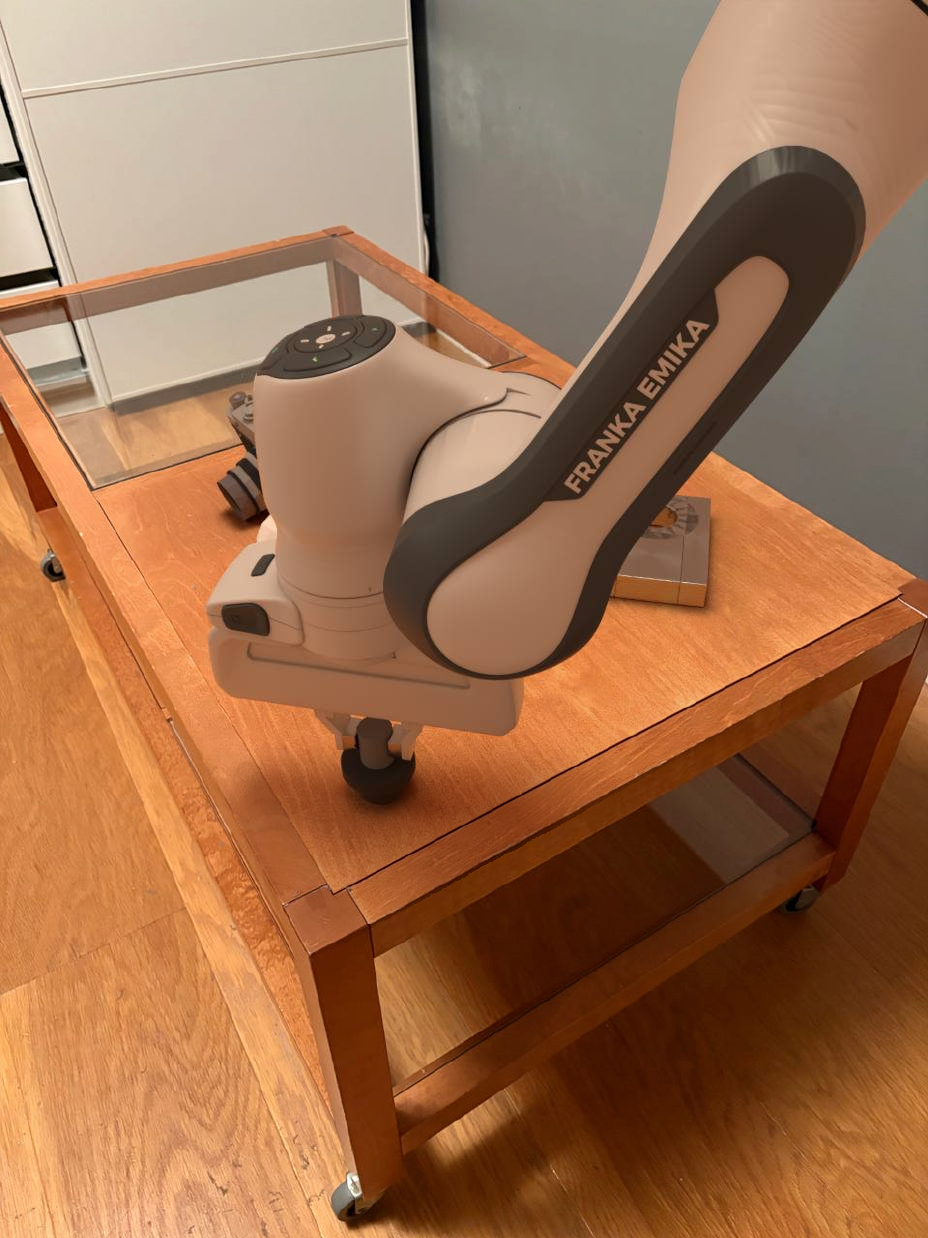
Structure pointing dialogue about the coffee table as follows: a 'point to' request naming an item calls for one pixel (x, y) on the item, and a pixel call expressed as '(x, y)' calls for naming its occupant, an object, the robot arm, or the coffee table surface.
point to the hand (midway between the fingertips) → (376, 748)
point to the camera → (243, 462)
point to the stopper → (376, 764)
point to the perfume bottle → (267, 530)
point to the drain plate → (670, 556)
